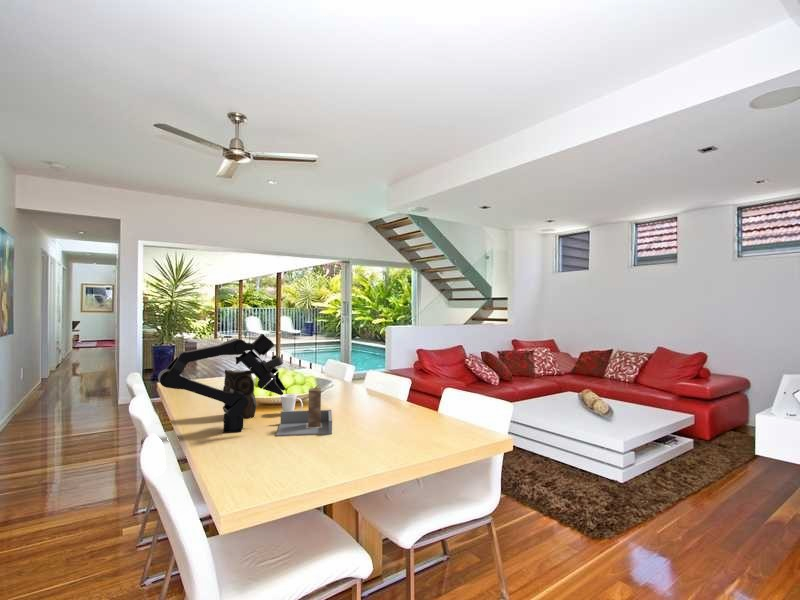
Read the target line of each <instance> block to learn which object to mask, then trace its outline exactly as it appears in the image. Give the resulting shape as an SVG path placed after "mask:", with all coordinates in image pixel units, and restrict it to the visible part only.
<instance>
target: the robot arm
mask: <svg viewBox="0 0 800 600" xmlns="http://www.w3.org/2000/svg"><path fill="white" fill-rule="evenodd" d="M274 346H275V344H274V342H273V341H272V340H271V339H270V338H268V337H267V336H266V335H265V334H262V333H261V334H260V335H258V336H257V338H256V339H255V340H254V341H252V342H249V341H248V342H246V341H245V340H243V339H240V338H237V337H236V338H232V339H230V340H226V341H224V342H222V343H219V344H216V345H211V346H208V347H207V346H206V347H202V348H197V349H192V350H187V351H186V350H185V351H184V350H183V351H180V352H179V353H178V354H177V356H176V357H175V358H174V360H172V362H171V363H169V365H168V366H167V367H166V368H165V369H163V370H161V371H160V372H159V373H158V375H157V380H158V382H159V383H160V385H161V386H162V387H164V388H166V389H174V390H184V391H187V392H191V393H195V394H197V395H200V396H203V397H207V398H209V399H212V400H215V401H218V402H221V403H223V404H224V405H223V406H222V409H223V410H222V411H223V412H224V414H223V429H222V433H223V434H224V433H225V434H226V433H227V434H229V433H237V432H239V433H240V432H242V430H243V429H244V419H243V418H244V417H243V416H242V414H243V412H244V409H245V408H246V407H247V406H248V398H247V397H245V396H244V394H243V393H242V392H240V391H235V390H233V389H232V388H230V391H223V389H222V390H221V389H219V388H216V387H213V386H210V385H207V384H204V383H201V382H199V381H196V380H193V379H190V378H187V377H186V376H185V375H182V373H183V372H184V370H185V368H186V366H187V365H188V364H189V363H191V362H196V361H200V360H205V359H210V358H214V357H218V356H219V357H220V356H235V365H238V364H239V363H240V362H241V363H242V364H243V366H245V367H246V368H247V369H248V370H250V371H251V373H252V374H251V375H254V376H255V377H256V378H258V381H257V386H258V388H260V389H262V390H265V391H267V392H271V393H273V394H277V395H278V396H279V395H280V396H281V395H284V392H283V391H285V390H286V386H285V385H284V384H283V382H282V380H281V378H280V377H279V375H280V372H279V369H278V368H277V367H280V366H282V365H283V364H284V362H283V360H282V358H281V356H280V355H279V356H278V355H276V354H274V355H273V356H271V359H269V360H268V361H266V360H265V359H262V358H260V356H266V354H267V353H268V352H269V351H271V349H272V348H274ZM247 351H248V352H247ZM237 355H239V356H237Z"/></svg>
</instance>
